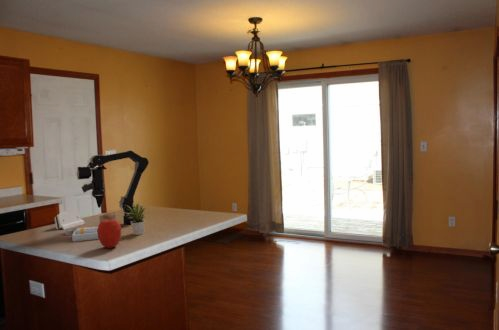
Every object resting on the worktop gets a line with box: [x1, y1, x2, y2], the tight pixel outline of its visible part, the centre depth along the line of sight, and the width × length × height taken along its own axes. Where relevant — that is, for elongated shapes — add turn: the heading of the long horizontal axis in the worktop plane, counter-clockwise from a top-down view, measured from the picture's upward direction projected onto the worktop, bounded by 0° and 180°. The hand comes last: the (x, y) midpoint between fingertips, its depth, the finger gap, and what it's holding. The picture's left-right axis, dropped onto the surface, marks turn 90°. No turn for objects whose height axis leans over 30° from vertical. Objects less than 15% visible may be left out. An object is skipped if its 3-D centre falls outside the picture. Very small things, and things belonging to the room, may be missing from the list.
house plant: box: [126, 202, 149, 236], centre depth 212 cm, size 14×14×16 cm
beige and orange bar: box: [76, 226, 98, 234], centre depth 206 cm, size 12×4×4 cm, turn 109°
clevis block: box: [64, 212, 117, 236], centre depth 219 cm, size 25×8×8 cm, turn 109°
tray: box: [71, 230, 99, 242], centre depth 207 cm, size 17×11×3 cm, turn 109°
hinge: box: [54, 209, 86, 230], centre depth 235 cm, size 17×5×10 cm, turn 159°
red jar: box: [97, 219, 122, 249], centre depth 185 cm, size 10×10×14 cm
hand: (99, 206), depth 227 cm, fingers open, 9 cm apart
